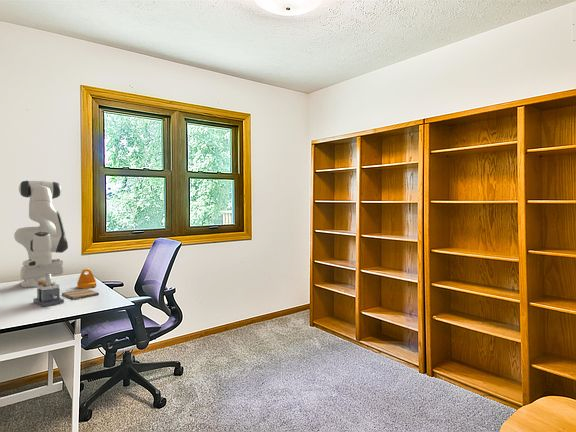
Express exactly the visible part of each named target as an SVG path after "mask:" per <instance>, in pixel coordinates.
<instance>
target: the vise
mask: <svg viewBox="0 0 576 432" xmlns="http://www.w3.org/2000/svg"><path fill="white" fill-rule="evenodd" d="M46 286H51V274H46ZM36 289H37V291H36V293H37V294H36V295H37V296H36V297H35V298H33V299H32V300H33V303H34V304H36V305H38V306H40V307H43V308H46V307H50V305H51V306H56V305H60V303H61V304H64V303H65V301H64V298H61V297H60V295H61V294H60V292H61V291H60V287H59V288H54V289H48V290H41V289H38V288H36ZM55 304H56V305H55Z"/></svg>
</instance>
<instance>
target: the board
mask: <svg viewBox="0 0 576 432" xmlns="http://www.w3.org/2000/svg"><path fill="white" fill-rule="evenodd" d="M99 294H100V293H99V292H98V291H95V290H91V289H90V288H85V289H82V288H81V289H77V290H72V291H67V292H62V294H61V295H62V296H63V295H64V296H63V297H66V298H68V297H69V299H71V300H73V299H74V301H75V299H76V300H81V299H85V297H86V298H91V297H95V296H99ZM80 298H81V299H80Z"/></svg>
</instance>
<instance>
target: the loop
mask: <svg viewBox="0 0 576 432" xmlns="http://www.w3.org/2000/svg"><path fill="white" fill-rule="evenodd" d="M38 282H41V285H37V288H36V289H41V290H48V289H54V288H60V284H58V283H56V282H54V283H51V286H46V281H45V280H40V281H38Z"/></svg>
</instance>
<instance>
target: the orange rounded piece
mask: <svg viewBox="0 0 576 432" xmlns="http://www.w3.org/2000/svg"><path fill="white" fill-rule="evenodd" d="M85 272H88V273H87V274H86V273H85ZM76 287H77V289H81V290H82V289H93V288H92V287H97V281H96V278H95V276H94V274H93V272H92V270H91V268H89V267H86V268H84V269H82V271H81V273H80V274H79V277H78V280H77V283H76Z"/></svg>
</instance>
